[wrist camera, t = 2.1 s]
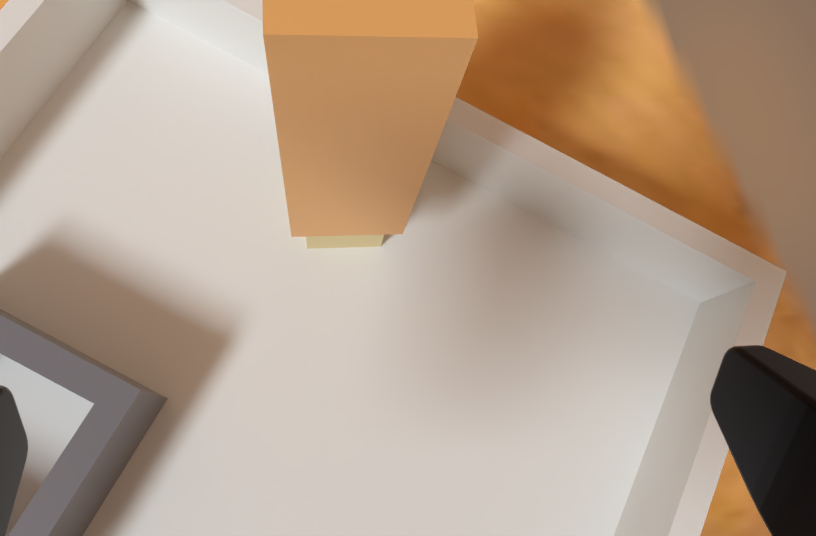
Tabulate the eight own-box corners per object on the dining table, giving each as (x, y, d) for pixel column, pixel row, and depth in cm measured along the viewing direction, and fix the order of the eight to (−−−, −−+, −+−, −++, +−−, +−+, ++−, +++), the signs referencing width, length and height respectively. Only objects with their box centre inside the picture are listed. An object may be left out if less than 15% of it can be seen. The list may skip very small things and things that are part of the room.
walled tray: (711, 300, 23) (787, 271, 20) (480, 930, 18) (524, 1064, 14) (129, -8, 24) (92, -95, 20) (-290, 513, 18) (-456, 532, 14)
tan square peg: (393, 257, 21) (478, 38, 10) (294, 260, 21) (262, 33, 9) (387, 167, 22) (459, -132, 11) (292, 168, 22) (260, -144, 10)
